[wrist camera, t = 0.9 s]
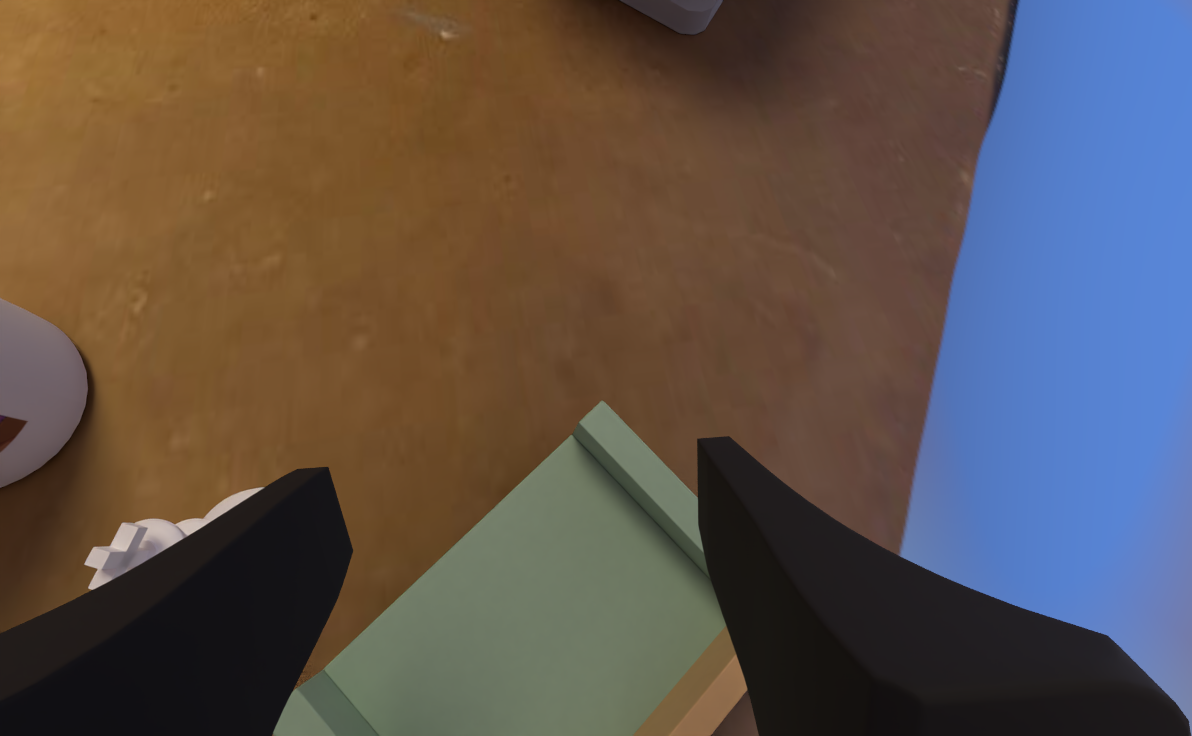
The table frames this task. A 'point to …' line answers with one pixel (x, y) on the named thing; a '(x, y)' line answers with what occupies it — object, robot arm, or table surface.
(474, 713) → the shelf
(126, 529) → the chess piece
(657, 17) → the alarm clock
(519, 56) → the table surface
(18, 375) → the milk bottle
